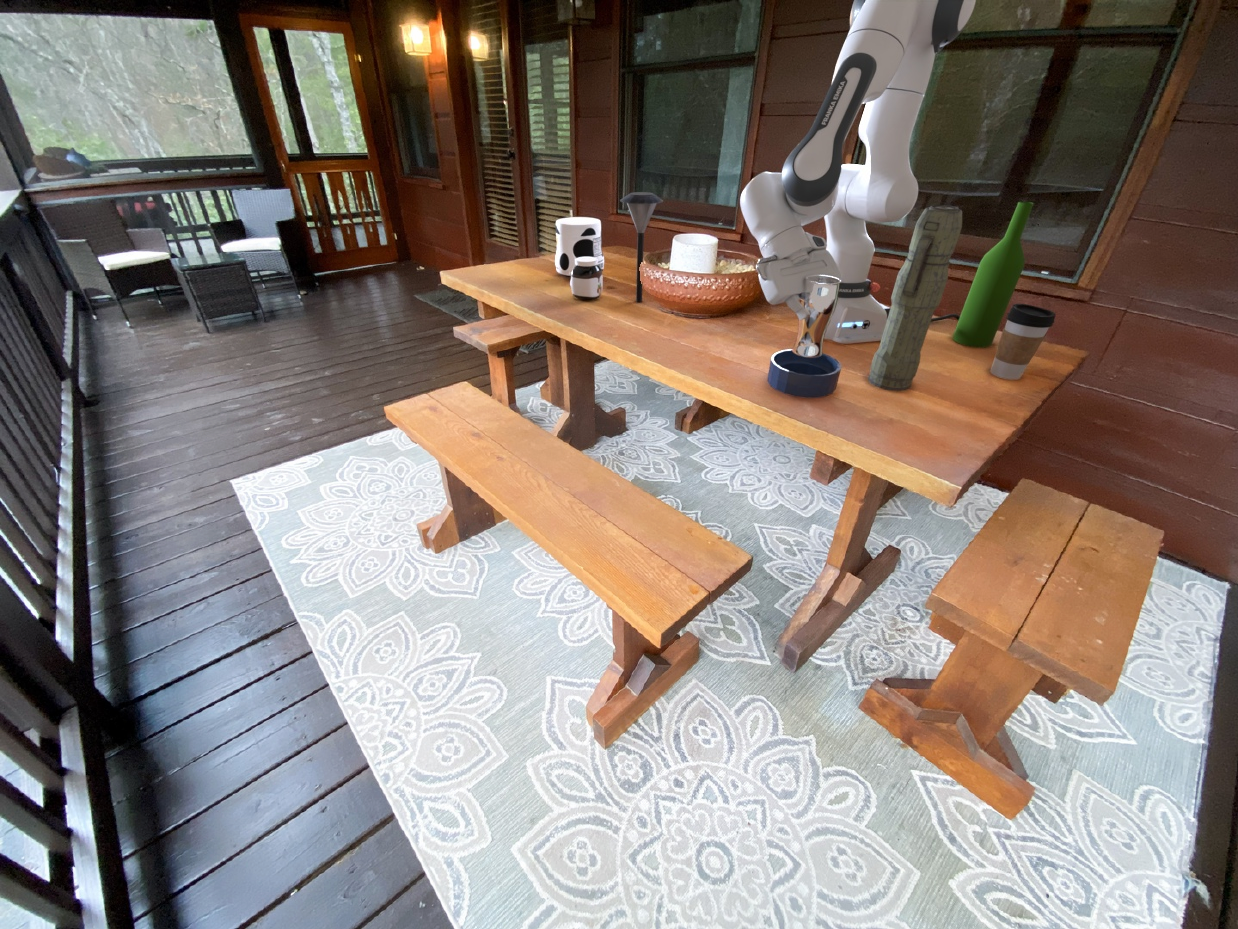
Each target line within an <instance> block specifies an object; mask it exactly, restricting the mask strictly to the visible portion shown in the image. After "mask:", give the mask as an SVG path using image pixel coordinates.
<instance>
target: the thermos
mask: <svg viewBox="0 0 1238 929" xmlns="http://www.w3.org/2000/svg"><path fill="white" fill-rule="evenodd" d="M962 228H963V210H962V209H960V208H959V207H958V206H953V205H944V204H942V205H941V204H933V205H930V206H929V207H926V208H924V209H923V212H922V213H921V215H920V216H919V218H918V220H917V221H916V223H915V225H914V230H913V233H912V237H911V240H910V242H909V243H910V244H909V247H908V254H907V256H906V257H905V260H904V263H903V265H902V267H901V268H900V270H899V271H898V273H897V276H896V279H895V283H894V286H893V290H892V294H891V297H890V301H891V306H890V308H891V309H890V312H889V316H888V319H887V322H886V326H885V329H884V333H883V336H882V340H881V341H880V343H879V346H878V348H877V350H876V351H875V353H874V354H873V356H872V357H873V358H872V361H871V364H870V372H869V375H868V378H867V381H868V382H869V384H870V385H872V386H874V387H877V388H879V389H882V390H885V391H890V392H891V391H892V392H903V391H907V390H910V388H911V387H912V384H913V383H912V382H913V380H914V378H915V377H916V375H917V372H918V369H919V366H920V363H921V351H922V349H923V345H924V343H925V341H926V340H925V339H926V337H927V334H928V331H929V328H930V325H931V323H932V322H931V319H932V318H933V315H934V313H935V310H936V309H937V308H938V307H939V306H940V303H941V301H942V299H943V298H942V297H943V295H944V293H945V289H946V286H947V283H948V280H949V266H950V263H951V262H950V260H951V256H952V255H953V254H954V251H955V249H956V245H957V242H958V240H959V237H960V235H961V231H962Z"/></svg>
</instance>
